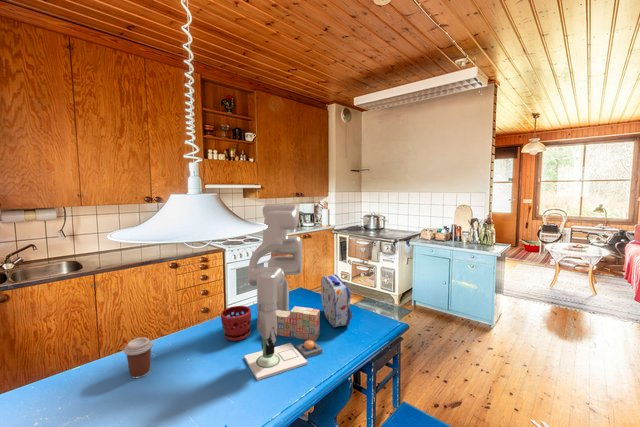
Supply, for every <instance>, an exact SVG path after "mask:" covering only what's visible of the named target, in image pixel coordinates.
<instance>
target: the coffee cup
mask: <svg viewBox="0 0 640 427" xmlns="http://www.w3.org/2000/svg"><path fill="white" fill-rule="evenodd" d="M153 343H154V342H152V341H151V340H150V339H149V338H148V337H143V336H142V337H138V338H134V339H131V340H130V341H129V342H127V343H126V346H125V347H124V349H123V353H124V355H126V359H127V366H128V372H129V377H130V376H131V377H134V378H136V377H142V376H144V375H146V374H147V373H149V374H150V372H151V358H152V357H151V354H152V353H151V352H152V348H153V346H154V344H153ZM149 371H150V372H149ZM147 375H148V374H147ZM147 375H146V376H147ZM131 377H130V378H131ZM144 377H145V376H144ZM142 378H143V377H142Z"/></svg>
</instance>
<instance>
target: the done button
mask: <svg viewBox="0 0 640 427" xmlns="http://www.w3.org/2000/svg"><path fill="white" fill-rule="evenodd" d="M314 342H315V341H314ZM314 342H313V341H311V340H305V341H304V342H303V343H304V348H305V349H304V350H305V351H311V350H315V349H314Z"/></svg>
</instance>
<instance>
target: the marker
mask: <svg viewBox="0 0 640 427" xmlns="http://www.w3.org/2000/svg"><path fill="white" fill-rule="evenodd" d="M270 336H271V335H270ZM269 340H271V338H270V339H269ZM262 341H263V349H262V351H263V357H264V358H270V357H272V356H273V354H270V355H266V345H267V342H266V339H264V338H263V337H262V338H261V342H262Z"/></svg>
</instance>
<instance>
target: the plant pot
mask: <svg viewBox="0 0 640 427" xmlns="http://www.w3.org/2000/svg"><path fill="white" fill-rule="evenodd" d="M232 313H233V314H232ZM220 322H221V325H222V329H223V331H224V334H223V335H224V338H225V339H226V340H228V341H232V342H237V341H242V340H244V339H246V338H248V337H249V336H250V334H251V332H252V331H251V328H250V326H251V324H252V323H251V322H252V309H251V308H250V307H249V306H246V305H234V306H230V307H228V308H225V309H223V310H222V311H221V312H220Z"/></svg>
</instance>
